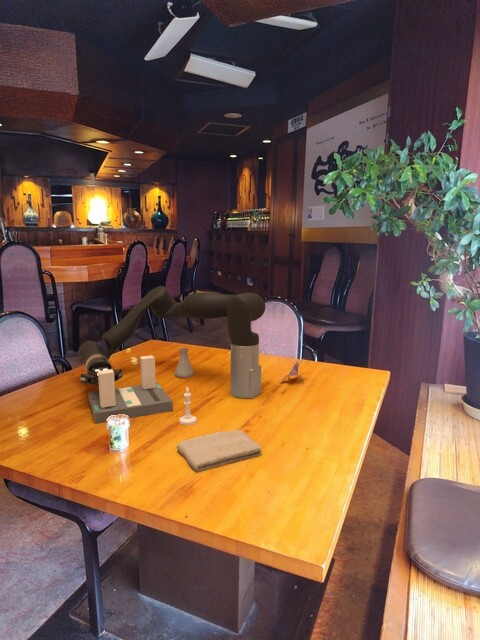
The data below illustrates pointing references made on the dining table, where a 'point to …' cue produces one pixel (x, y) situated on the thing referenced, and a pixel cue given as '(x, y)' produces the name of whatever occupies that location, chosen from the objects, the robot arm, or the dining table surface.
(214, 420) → the dining table surface
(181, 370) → the flask
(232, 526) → the dining table surface
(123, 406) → the switch bank
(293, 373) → the lily
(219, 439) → the washcloth
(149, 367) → the tab
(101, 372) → the tab
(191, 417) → the chess piece
